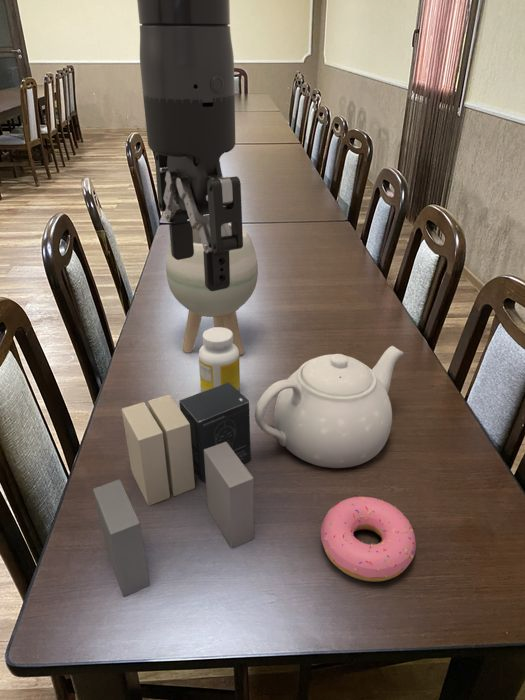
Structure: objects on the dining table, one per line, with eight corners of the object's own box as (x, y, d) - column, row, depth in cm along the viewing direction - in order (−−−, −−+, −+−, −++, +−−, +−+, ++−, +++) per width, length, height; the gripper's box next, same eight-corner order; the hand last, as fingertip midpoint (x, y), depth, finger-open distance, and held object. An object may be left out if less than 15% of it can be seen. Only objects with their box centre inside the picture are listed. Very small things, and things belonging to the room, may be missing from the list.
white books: (148, 506, 69) (138, 440, 63) (131, 472, 74) (121, 408, 68) (195, 488, 72) (189, 423, 66) (176, 456, 77) (169, 394, 71)
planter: (158, 359, 99) (145, 242, 87) (194, 320, 112) (188, 214, 100) (240, 375, 95) (238, 255, 83) (268, 332, 108) (270, 223, 96)
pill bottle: (246, 389, 91) (245, 329, 85) (229, 410, 86) (227, 348, 80) (212, 380, 93) (209, 321, 87) (193, 400, 88) (189, 339, 82)
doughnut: (315, 581, 60) (318, 556, 58) (323, 506, 69) (325, 482, 67) (416, 596, 58) (422, 572, 56) (410, 518, 67) (415, 494, 65)
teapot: (283, 390, 91) (285, 318, 84) (394, 408, 87) (406, 334, 80) (253, 464, 75) (252, 385, 68) (386, 490, 71) (400, 409, 64)
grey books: (123, 597, 58) (110, 534, 53) (106, 549, 63) (92, 488, 58) (254, 538, 65) (253, 478, 59) (228, 500, 70) (226, 441, 65)
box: (231, 439, 80) (229, 380, 75) (251, 461, 76) (251, 401, 70) (183, 458, 76) (178, 398, 71) (202, 483, 72) (197, 421, 67)
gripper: (119, 83, 48) (139, 255, 56) (177, 101, 37) (192, 309, 46) (196, 80, 51) (205, 243, 60) (271, 96, 40) (268, 292, 49)
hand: (199, 272), depth 53 cm, fingers open, 8 cm apart
